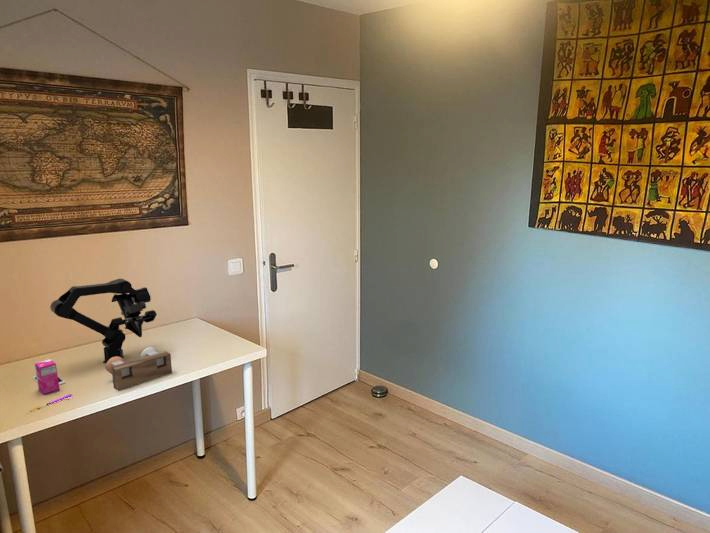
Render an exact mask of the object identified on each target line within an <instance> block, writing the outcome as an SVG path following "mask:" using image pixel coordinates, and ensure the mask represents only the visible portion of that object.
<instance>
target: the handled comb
mask: <svg viewBox="0 0 710 533" xmlns="http://www.w3.org/2000/svg"><path fill="white" fill-rule="evenodd" d="M71 396H72V397H73V394H71V393H70V394H67V395H64V396H63V397H60V398H57V399H56V400H55V399H54V400H52V401H49V402H48V403H46V404H45V405H46V406H47V405H48V404H51V403H54V402H56V403H58V402H57V401H59V400H61V401H63V400H62V399H64V398H68V397H71ZM64 400H65V399H64ZM59 402H60V401H59ZM54 404H55V403H54ZM51 405H52V404H51ZM48 406H49V405H48ZM38 408H40V406H36V407H34V408H32V409H30V410H29V409H28V411H32V410H35V409H38ZM40 409H41V408H40Z"/></svg>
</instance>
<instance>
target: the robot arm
mask: <svg viewBox="0 0 710 533" xmlns="http://www.w3.org/2000/svg"><path fill="white" fill-rule="evenodd" d="M102 294H113V296H112V298H111V303H115V302H116V303H117V304H118V306H119V309H120V314H121V315H122V316H123V318H124V319H123V318H122V317H119V316H118V317H115V318H112V319H111V321H110V323H109V325H104V324H102V323H101V322H99V321H97V320H95V319H93V318H91V317H89V316H87V315H85V314H83V313H81V312H79V311H78V310H76V309H75V308H74V306H75V305H76V303H77V302H78V300H79V298H81V297H86V296H94V295H102ZM151 299H152V298H151V295H150V293H149V290H148V287H141V288H137V289H134V288H133V287H132V284H131V282H130V281H128V280H126V279H124V278H117V279H113V280H110V281H108V282H105V283H96V284H88V285H87V284H86V285H77V286H76V285H74V286H71V287H70V288H69V289H68V290H67V291H66V292H64V293H63V294H62V295H60V296H59V297H58V299H56V300H54V301H52V302H51V303H50V311H51V312H52V313H53V314H55V316H57V317H59V318H63V319H67V320H71V321H75V322H76V323H78V324H80V325H83V326H84V327H86V328H89V329H91V330H92V331H94V332H96V333H99V334H101V335H102V336H103V337H104V338H103V339H102V341H101V343H102V345H103V346H104V347H103V355H104V360H103V362H102V363H103V364H107V362H108V360H109V359H110V358H112V357H115V356H118V357H121V358H122V359H123V360H124V358H125V357H124V350H123V348H122V347H123V343H124V342H125V340H126V334H125V333H124V330H123V329H121V328H120V326H121V325H122V326H123V325H124V326H125V327H124V329H125V330H129V331H130V332H131V333H133V334H134V335H136V336H137V337H138V338H142V337H143V324H144V323H151V322H154V321H155V319H156V317H157V315H158V314H157V312H156V311H155V310H154V309H152V310H147V311H145V312H144V314H143V315H141V314H142V312H143V311H144V309H146V308H147V306H146V305H147V304H146V303H150V302H151Z"/></svg>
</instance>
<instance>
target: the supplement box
mask: <svg viewBox="0 0 710 533" xmlns="http://www.w3.org/2000/svg"><path fill="white" fill-rule="evenodd" d="M34 369H35V376H37V381H36V382H37V389H38V391H39V392H40V393H41V394H42V396H45V395H49V394H52V392H53V393H55V392H59V391H60V390H61V389H60V385H59V381H58V377H59V375H58V370H57V363H56V362H55V361H54V360H52V359H51V358H48V359H46V360H42V361H37V362H34Z"/></svg>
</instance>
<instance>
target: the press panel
mask: <svg viewBox="0 0 710 533" xmlns="http://www.w3.org/2000/svg"><path fill="white" fill-rule="evenodd" d="M162 357H163V359H164V364H163V365H159V366H157V361H156V359H159V358H162ZM128 367H129V371H130V375H127V376H123V377H122V374H121V370H122V369H125V368H128ZM171 374H173V369H172V355H171V352H168V351H166V350H165V351H162V352H158V353H157V354H154V355H150V356H147V357H143V358H141V357H140V358H137V359H134V360H129V361H125V363H123V364H119V365H116V366H112V374H111V375H112V376H111V377H112V386H113V388H114V389H115V390H116V391H117V390H118V391H122V390H125V389H127V388H132V387H134V386H138V385H141V384H143V383H147V382H149V381H152V380H156V379H159V378H162V377H165V376H168V375H171ZM131 386H132V387H131ZM118 391H117V392H118Z"/></svg>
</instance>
